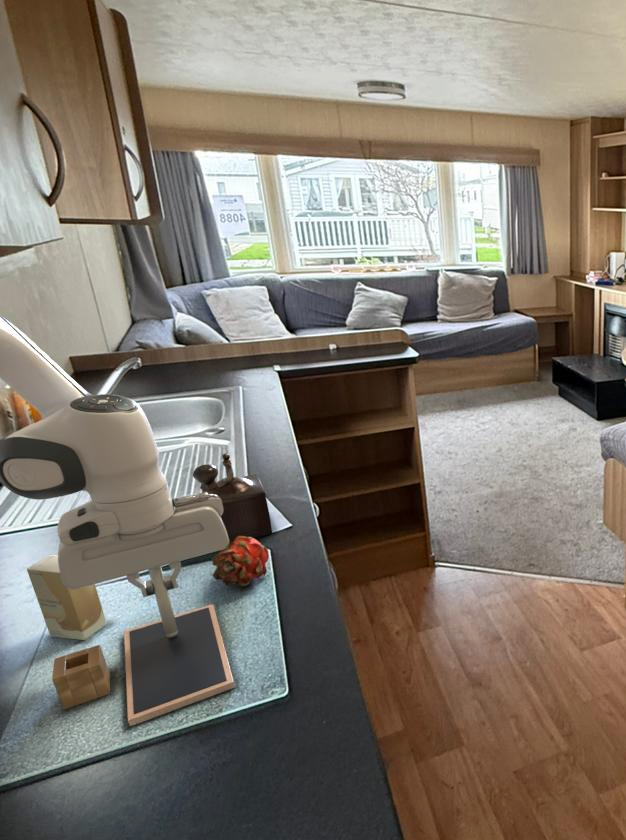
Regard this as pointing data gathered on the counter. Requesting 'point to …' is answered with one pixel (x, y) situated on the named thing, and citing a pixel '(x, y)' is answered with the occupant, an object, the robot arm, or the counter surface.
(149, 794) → the counter surface
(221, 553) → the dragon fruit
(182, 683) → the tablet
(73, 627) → the cosmetic box
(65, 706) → the pen stand
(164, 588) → the stylus
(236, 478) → the brown manual coffee grinder
